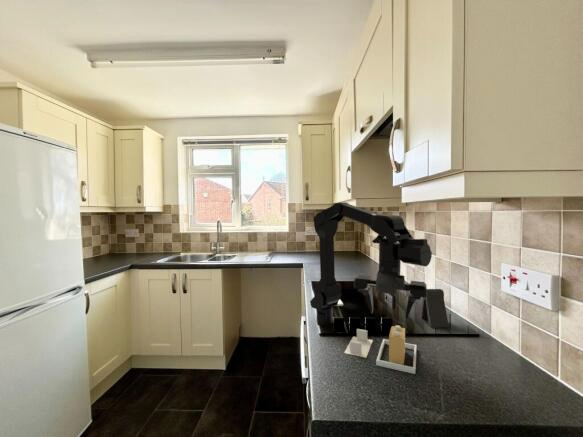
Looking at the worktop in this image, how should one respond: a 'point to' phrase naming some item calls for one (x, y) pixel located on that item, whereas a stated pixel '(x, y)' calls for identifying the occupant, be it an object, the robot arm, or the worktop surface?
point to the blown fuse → (397, 345)
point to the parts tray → (394, 365)
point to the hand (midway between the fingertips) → (388, 315)
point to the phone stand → (434, 309)
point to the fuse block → (359, 344)
